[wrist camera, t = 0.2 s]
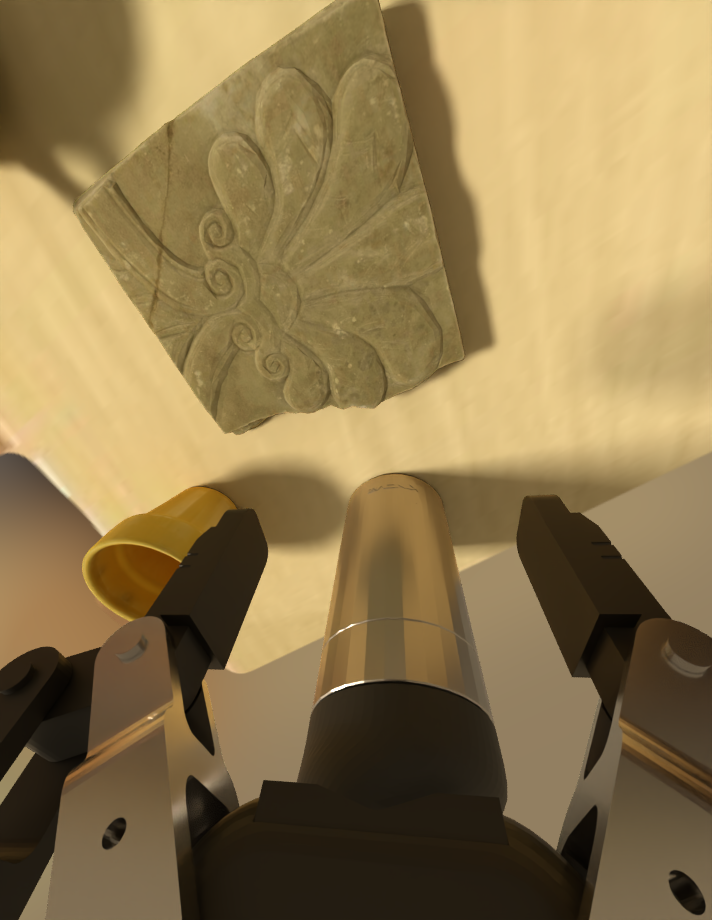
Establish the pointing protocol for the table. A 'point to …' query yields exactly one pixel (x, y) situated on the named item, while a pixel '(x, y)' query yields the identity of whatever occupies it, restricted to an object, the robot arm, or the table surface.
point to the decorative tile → (286, 231)
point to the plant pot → (149, 550)
